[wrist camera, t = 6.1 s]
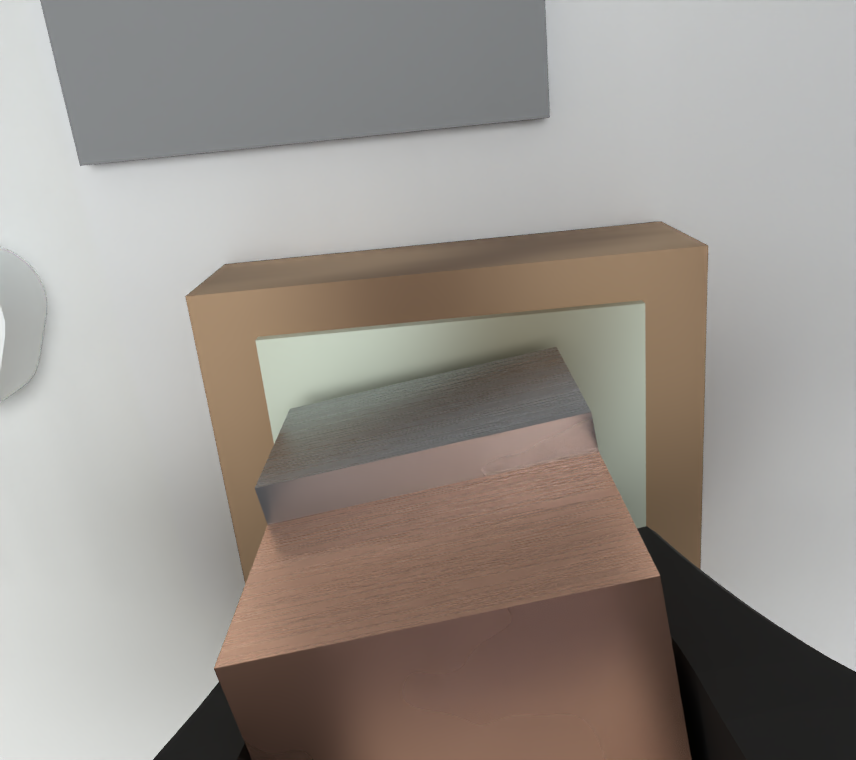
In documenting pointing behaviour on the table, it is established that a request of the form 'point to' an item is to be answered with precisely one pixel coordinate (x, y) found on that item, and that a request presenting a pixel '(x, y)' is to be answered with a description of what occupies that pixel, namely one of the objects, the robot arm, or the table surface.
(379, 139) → the table surface
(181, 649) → the table surface
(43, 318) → the mounting plate
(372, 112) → the mat
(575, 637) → the block
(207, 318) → the stand
